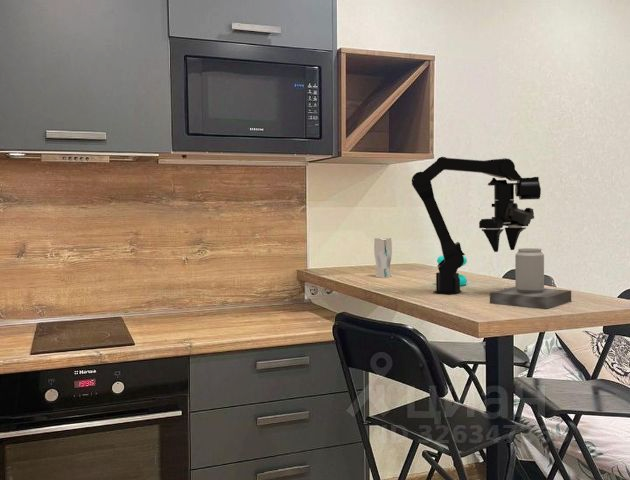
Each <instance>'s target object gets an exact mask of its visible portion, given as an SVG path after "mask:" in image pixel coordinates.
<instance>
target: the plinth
mask: <svg viewBox="0 0 630 480" xmlns="http://www.w3.org/2000/svg"><path fill="white" fill-rule="evenodd" d="M570 302H572V290H570V289H569V290H567V289H558V288H557V289H556V288H545V287H544V289H543V290H542V291H541V292H539V293H524V292H519V291H518V290H517V289H516V285H515V286H511V287H508V288H503V289H498V290H494V291H490V292H489V304H495V305H505V306H513V307H523V308H533V309H541V310H542V309H543V310H548V309H551V308H556V307H559V306H561V305H564V304H568V303H570Z"/></svg>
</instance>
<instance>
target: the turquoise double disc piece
mask: <svg viewBox="0 0 630 480" xmlns="http://www.w3.org/2000/svg"><path fill="white" fill-rule="evenodd" d="M463 258H464V262H463V265H462V266H461V267H463V266H465V265H466V264H467V261H468V259H467V257H466V256H465V255H463ZM443 259H444V257H443V255H440V256H438V257H437V259H436V261H437V265H438V264H439V263H440V262H441V261H442V260H443ZM459 278H460V287H463V286H465V285H466V284H467V283H468V279H467V277H466V276H465V275H463V274H460V273H459Z"/></svg>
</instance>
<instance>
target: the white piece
mask: <svg viewBox="0 0 630 480" xmlns="http://www.w3.org/2000/svg"><path fill="white" fill-rule="evenodd" d="M373 252H374V259H375V263H376V264H375V265H376V272H375V278H381V279H383V278H384V279H385V278H386V279H387V277H388V278H391V277H392V273H391V272H392V271H391V261H392V257H393V255H392V254H393V244H392V238H391V237H380V238H379V237H378V238H377V237H376V238H374V244H373Z"/></svg>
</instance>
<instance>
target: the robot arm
mask: <svg viewBox="0 0 630 480" xmlns="http://www.w3.org/2000/svg"><path fill="white" fill-rule="evenodd" d="M443 171H454V172H467V173H479V174H480V173H481V174H485V175H488V176H491V177H492V178H491V180H490V181H489V182H488V183H487V186H488V187H489V186H490V187H493V186H494V187H493V188H494V189H493V191H494V196H493V199H494V203H491V208H494V216H491V218H481V219H480V220H479V222H478V228H479V229H481V232H483V233H484V235H485V236H486V238H487V241H488V242H489V245H490V246H491V248H492V250H493V252H494V253H498V252H499V248H500V247H499V246H500V238H501V237H500V236H501V234H502V232H503V231H505V235H506V238H507V242H508V247H509V250H510V251H515V248H516V245H517V242H518V240H519V237H520V235H521V233H522V232H523V231H524V230H526V229H527V227H529V225H530V224H531V220H533V219H535V216H534V215H535V214H534V208H531V207H526V208H524V209H523V208H522V209H521V208H518V207H519V205H518V204H517V203H515V200H514V199H515V197H518V198H519V200H520V201H521V200H524V201H525V200H540V198H541V195H542V194H541V193H542V189H541V188H542V187H541V184H540V183H541V182H540V177H539V176H533V177H522V176H521V175H520V174H519V172H518V171H517V170H516V165H515V163H514V161H513V160H512V159H510V158H507V157H506V158H495V159H486V160H480V159H479V160H477V159H467V158H466V159H465V158H456V157H455V158H452V157H446V156H440V157H438V158H437V159H436V161H434V162H433V163H432V164H431V165H429V166H428V167H427V168H426V169H424V170H423V171H417V172H416V173H414V174H413V175H412V178H411V186H412V188H413V189H414V191H415V192H416V193H417V195H418V196H419V198H420V199H421V201H422V202H423V204H424V207H425V209H426V212H427V214H428V217H429V219H430V221H431V223H432V226H433V228H434V231H435V233H436V235H437V237H438V240H439V243H440V248H441V252H442V256H443V257H444V259H443V260H442V261H441V262H440V263H439V264H438V263H437V269H438V272H435V281H436V283H435V286H436V287H435V289H436V290H433V293H436V294H446V295H453V294H458V293H462V290H461V286H460V278H459V274H460V273H459V272H458V269H460V268H462V267H463V266H464V265H463V262H464V258H463V256H465V255H466V254H465V253H464V251H462V247H461V243H460V242H459V241H457V242H454V240H453V239H452V237H451V234H450V232H449V229H448V227H447V225H446V222H445V220H444V218H443V215H442V213H441V210H440V209H439V205H438V204H437V201H436V199H435V193H434V190H433V185H432V180H433V179H435V178H436V177H438V175H440V173H442V172H443ZM496 178H499V179H496ZM507 180H508V181H509V182H508V181H507ZM504 226H505V227H504ZM503 227H504V229H503ZM462 265H463V266H462Z"/></svg>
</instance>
